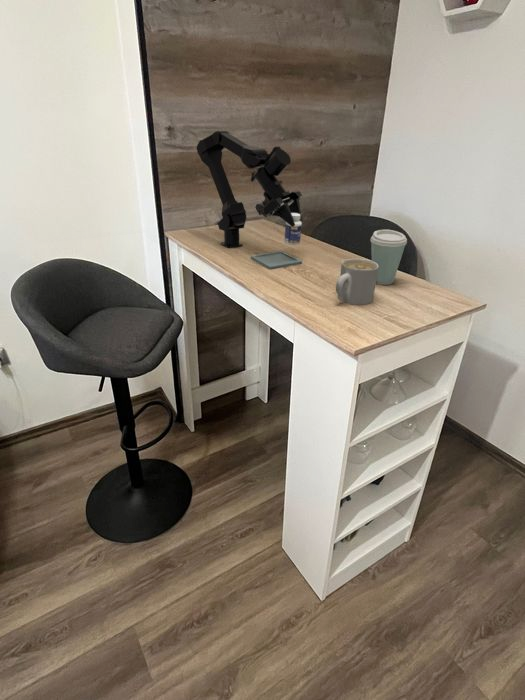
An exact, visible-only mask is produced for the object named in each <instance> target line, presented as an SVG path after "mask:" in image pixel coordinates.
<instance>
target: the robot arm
mask: <svg viewBox="0 0 525 700" xmlns="http://www.w3.org/2000/svg"><path fill="white" fill-rule="evenodd" d="M224 149H226V150H228V151H229V152H231V153H232V154H234V155H236V156H237V157H239V158H240V161H241V163H242V164H243V165H244V167H247V169H250V170H251V169H257V170H256V171H253V172H251V177H250V182H255V181H257V182H258V184H259V186H260V187H261V189H263V191H264V192H263V193H262V194H263V197H264V200H263V201H262V202H259V203H258V202H257V203H256V205H255V207H254V208H255V209H256V211H257V213H258V215H259V216H263V217H265V218H267V217H270V216H272V217H275V216H276V217H279V218H280V219H282V220H284V221H285V223H286V222H287V223H288V224H290V225H291V226H292V227H293V226H294V225H295V223H294V220H293V217H292V214H291V213H298V214H300V220H299V221H301V222H303V219H302V217H303V216H302V212H301V204H300V201H301V198H302V197H303V194H302V193H301V191H300V190H293V191H291V192H290V191H289V190H287V191H286V189H285V188H284V185H283V184H284V182H283V180H279V179H278V176H280V175H281V174H282V173H283V172H284V171H285V169H287V168H288V166H289V165H290V164H291V162H292V161H291V157H290V155H289V154H288V152H286V151H285V150H283V149H282V148H281V146H279V145H278V146H274V147H273V148H272V150H271V151H270V153H268V151H267V150H266V148H265V149H264V148H262V147H258V146H254V145H253V146H252V145H249V144H247V143H246V142H244V141H242V140H241V139H239V138H237V137H235V136H233V134H231V133H230V132H229V131H226V130H217V131H215V132H213V133H212V134H210V135H208V136H207V137H204V138H203V139H200V140H199V141H198V143H197V144H196V151H197V154H198V156H199V158H200V160H201V162H203V164H205V165H206V166H207V167H208V169H209V171H210V174H211V178H212V180H213V182H214V185H215V186H214V187H215V188H216V190H217V193H218V196H219V199H220V202H221V203H222V206H221V207H222V208H221V217H222V218H221V219H220V221H219V222H218V223H217V226H218V229H219V230H220V231H223V241H221V242H220V245H222V246H224V247H226V248H227V249H228V248H230V249H231V248H236V247H243V246H244V245H243V243H241V242H240V229H244V228H245V225H246V220H247V211H246V210H245V206H244V203H243V202H242V201H237V200H236V198H235V196H234V192H233V190H232V187H231V185H230V182H229V180H228V177H227V174H226V172H225V169H224V165H223V164H222V160H223V159H222V158H223V152H222V151H223V150H224Z"/></svg>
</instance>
